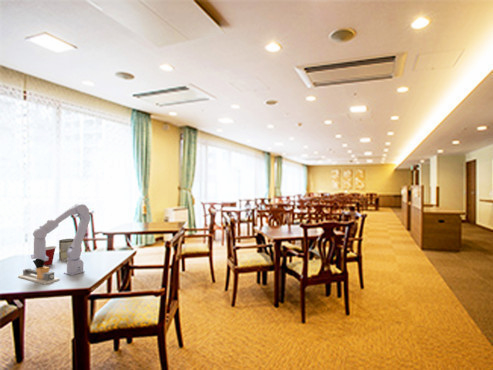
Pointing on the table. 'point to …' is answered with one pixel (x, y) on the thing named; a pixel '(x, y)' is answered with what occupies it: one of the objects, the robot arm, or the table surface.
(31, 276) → the cord board
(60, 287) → the table surface
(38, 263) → the robot arm
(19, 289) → the table surface
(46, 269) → the marker sleeve
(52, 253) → the plastic cup
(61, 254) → the coffee can
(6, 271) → the table surface
